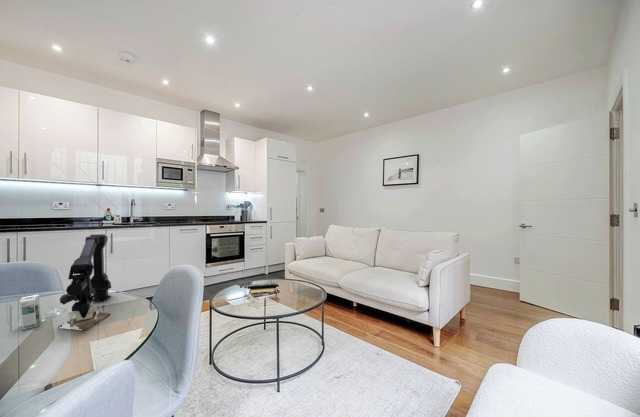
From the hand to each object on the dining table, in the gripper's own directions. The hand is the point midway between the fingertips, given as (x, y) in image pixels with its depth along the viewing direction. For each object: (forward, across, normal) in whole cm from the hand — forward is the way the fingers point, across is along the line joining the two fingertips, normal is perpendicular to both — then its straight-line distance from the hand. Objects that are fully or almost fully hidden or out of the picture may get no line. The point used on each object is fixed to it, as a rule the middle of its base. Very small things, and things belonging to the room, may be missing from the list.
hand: (85, 314), depth 131 cm
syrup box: (+4, -7, -21) cm, 22 cm away
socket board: (+4, 0, 0) cm, 4 cm away
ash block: (+1, 0, 0) cm, 1 cm away
